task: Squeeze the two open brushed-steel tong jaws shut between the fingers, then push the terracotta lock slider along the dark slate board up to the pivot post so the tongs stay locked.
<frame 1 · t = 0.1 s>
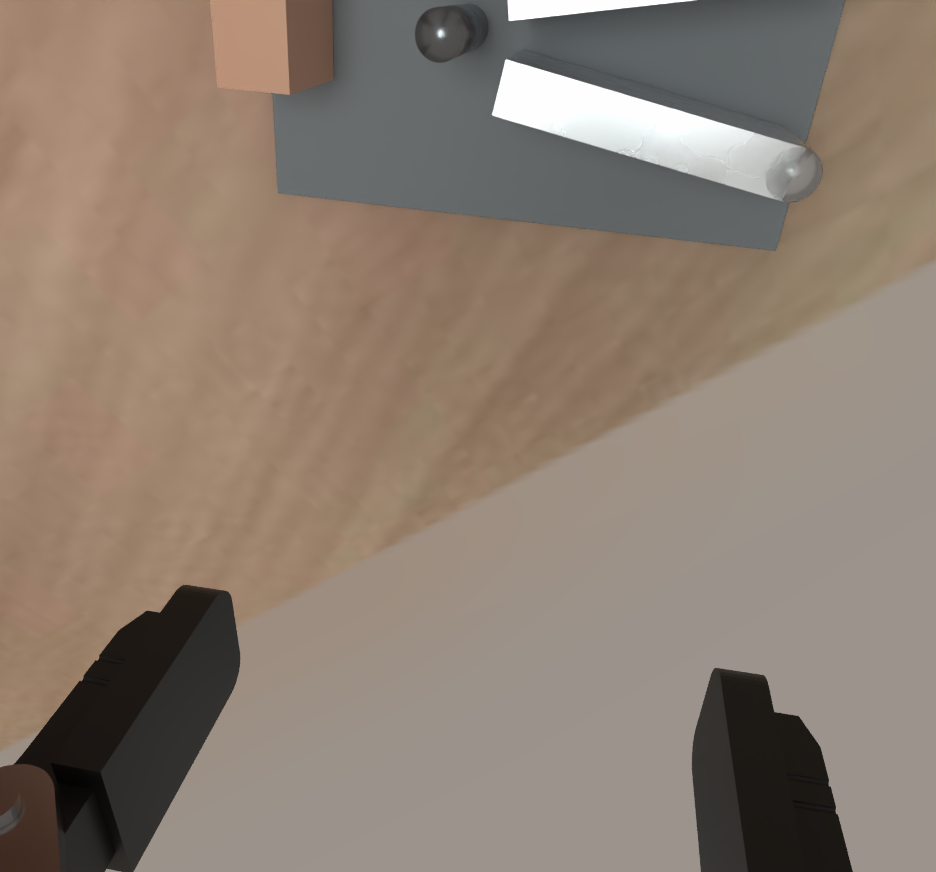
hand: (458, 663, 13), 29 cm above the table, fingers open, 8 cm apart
lock slider: (275, 14, 32), point 4 cm above the table, slide at 0.0 cm
jaw 1: (655, 123, 32), point 4 cm above the table, hinge at 10.0°
pivot post: (470, 26, 34), resting on slate board
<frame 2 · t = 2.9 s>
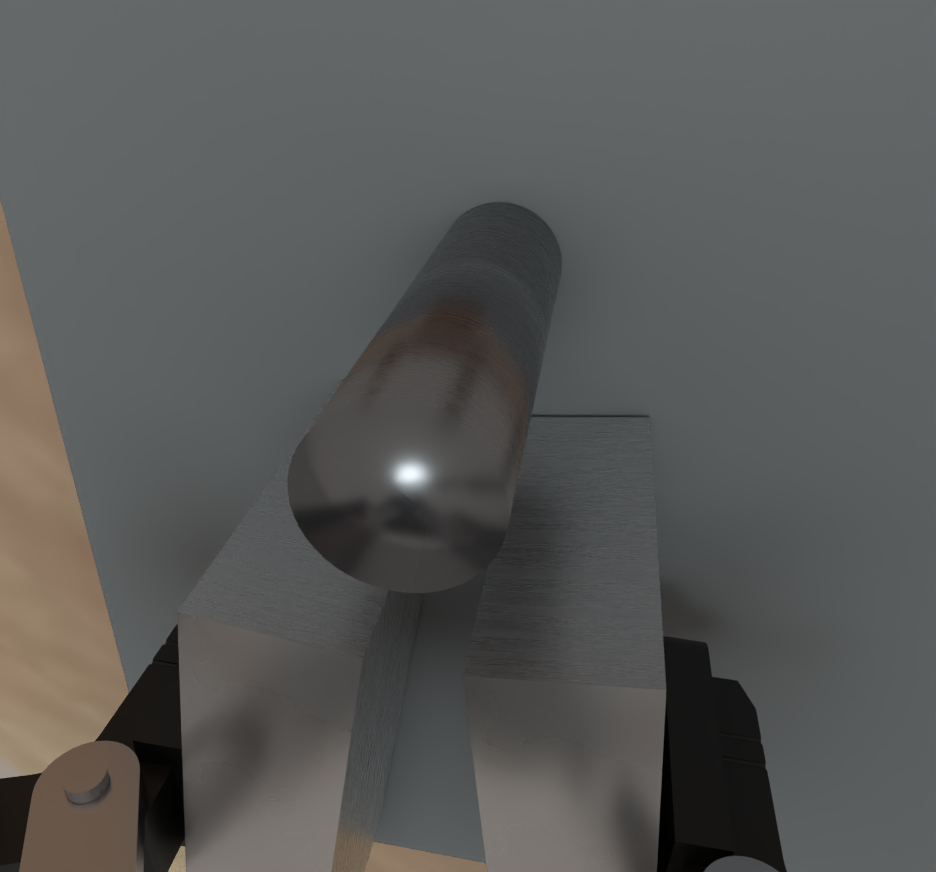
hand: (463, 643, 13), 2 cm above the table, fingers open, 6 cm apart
jaw 1: (316, 773, 14), point 4 cm above the table, hinge at 7.5°, touching gripper
slate board: (610, 429, 13), on the table
jaw 2: (583, 822, 13), point 4 cm above the table, hinge at 7.4°, touching gripper
pivot post: (507, 248, 12), resting on slate board
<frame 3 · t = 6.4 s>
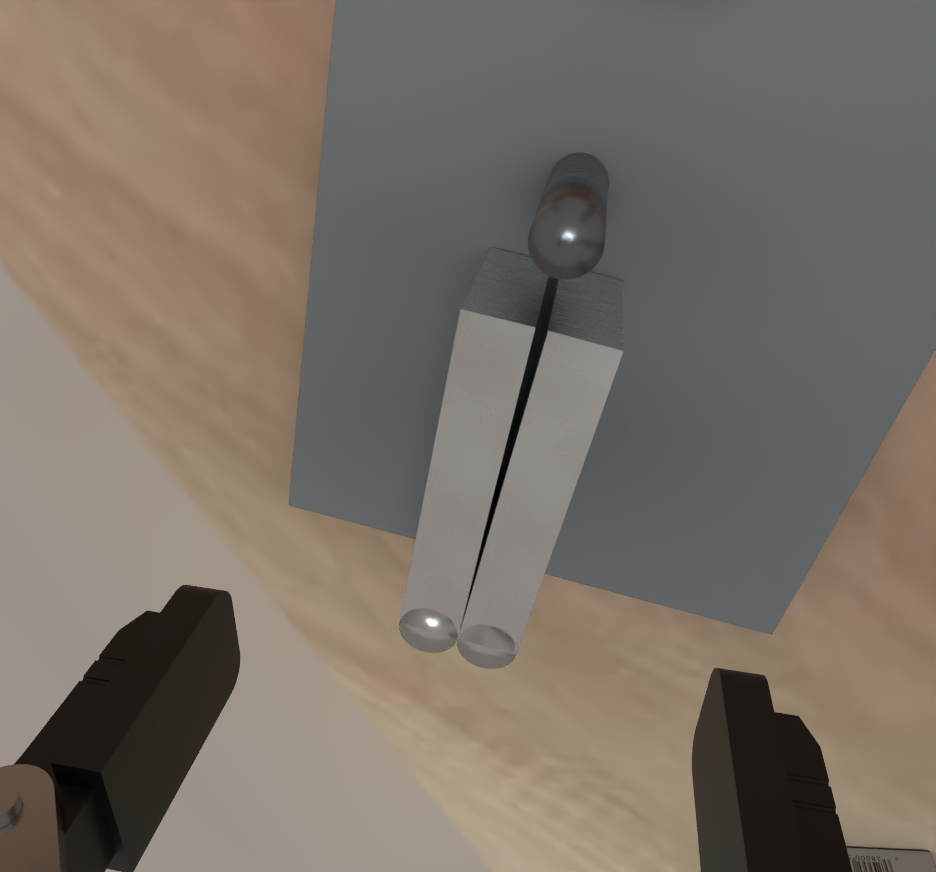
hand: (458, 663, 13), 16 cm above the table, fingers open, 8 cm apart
jaw 1: (470, 460, 26), point 4 cm above the table, hinge at -0.6°
slate board: (614, 283, 26), on the table
jaw 2: (534, 476, 26), point 4 cm above the table, hinge at -0.9°
pivot post: (579, 177, 24), resting on slate board
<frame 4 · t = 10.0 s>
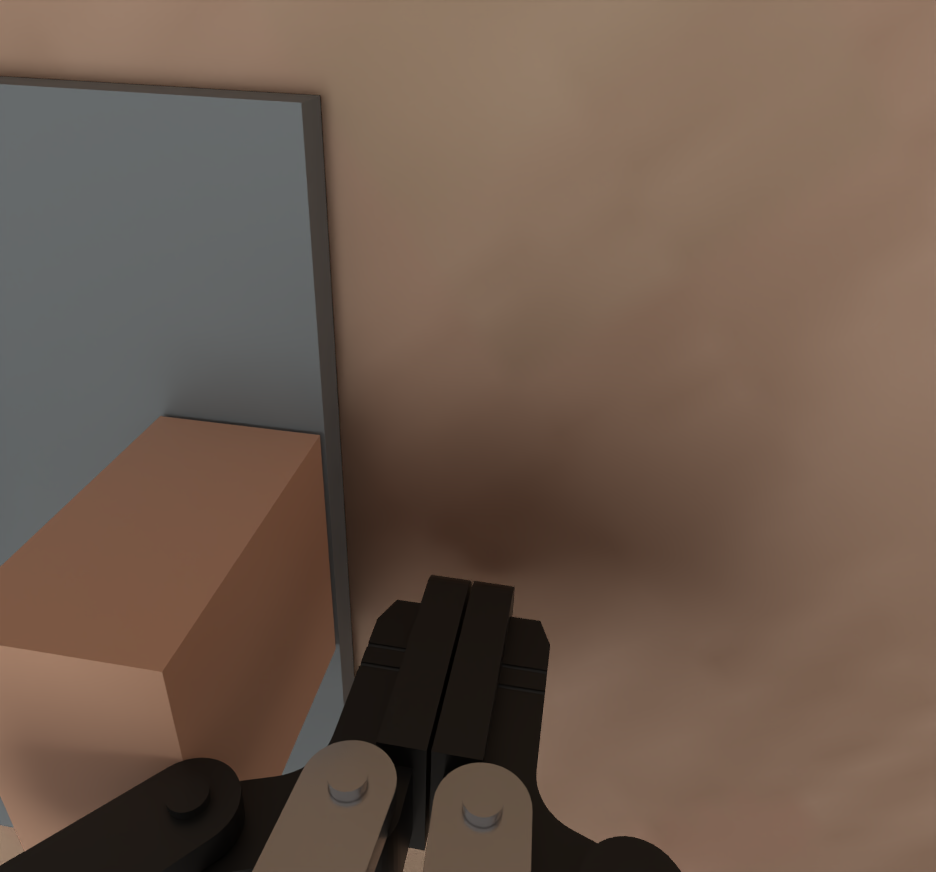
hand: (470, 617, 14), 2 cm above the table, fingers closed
lock slider: (187, 643, 13), point 4 cm above the table, slide at 0.1 cm, touching gripper
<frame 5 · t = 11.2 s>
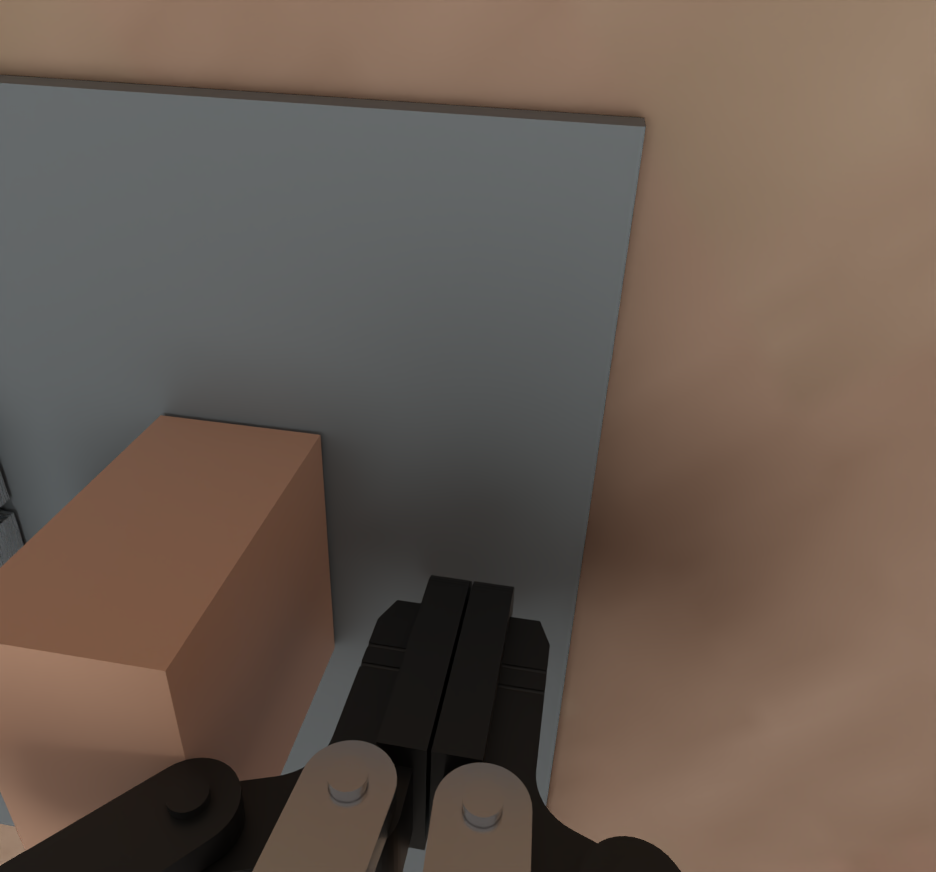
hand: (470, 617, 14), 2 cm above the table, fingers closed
lock slider: (187, 642, 13), point 4 cm above the table, slide at 4.8 cm, touching gripper
slate board: (40, 551, 18), on the table
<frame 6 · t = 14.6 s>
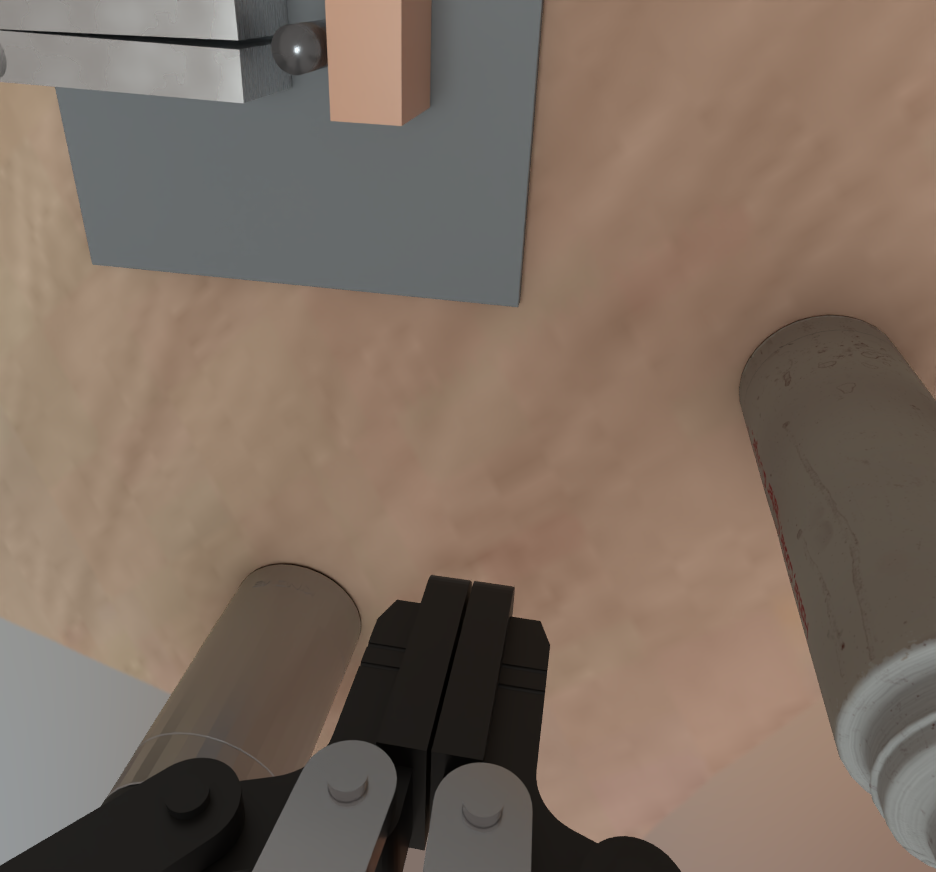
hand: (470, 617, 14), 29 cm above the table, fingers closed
lock slider: (382, 47, 33), point 4 cm above the table, slide at 4.8 cm
jaw 1: (125, 4, 34), point 4 cm above the table, hinge at -0.6°
slate board: (288, 81, 38), on the table
jaw 2: (134, 59, 35), point 4 cm above the table, hinge at -0.9°
pivot post: (347, 38, 36), resting on slate board
thermos bottle: (817, 384, 41), on the table
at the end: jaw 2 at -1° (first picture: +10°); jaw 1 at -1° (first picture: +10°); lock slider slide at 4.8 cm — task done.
